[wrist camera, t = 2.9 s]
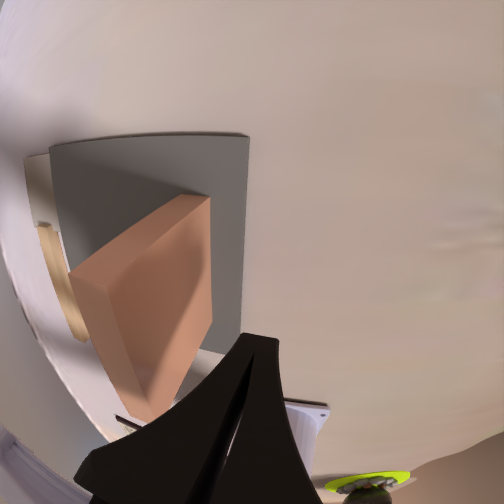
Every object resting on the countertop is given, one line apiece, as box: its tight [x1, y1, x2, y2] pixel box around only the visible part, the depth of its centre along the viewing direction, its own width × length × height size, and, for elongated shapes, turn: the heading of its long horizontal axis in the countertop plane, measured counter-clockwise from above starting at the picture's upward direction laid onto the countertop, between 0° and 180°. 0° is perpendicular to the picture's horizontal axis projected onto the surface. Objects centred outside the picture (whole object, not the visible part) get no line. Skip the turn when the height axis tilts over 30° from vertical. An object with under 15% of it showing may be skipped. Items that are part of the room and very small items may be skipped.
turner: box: [24, 154, 90, 343], centre depth 18 cm, size 18×4×1 cm, turn 177°
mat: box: [49, 135, 250, 355], centre depth 16 cm, size 14×14×1 cm
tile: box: [68, 194, 212, 423], centre depth 12 cm, size 8×2×8 cm, turn 177°
